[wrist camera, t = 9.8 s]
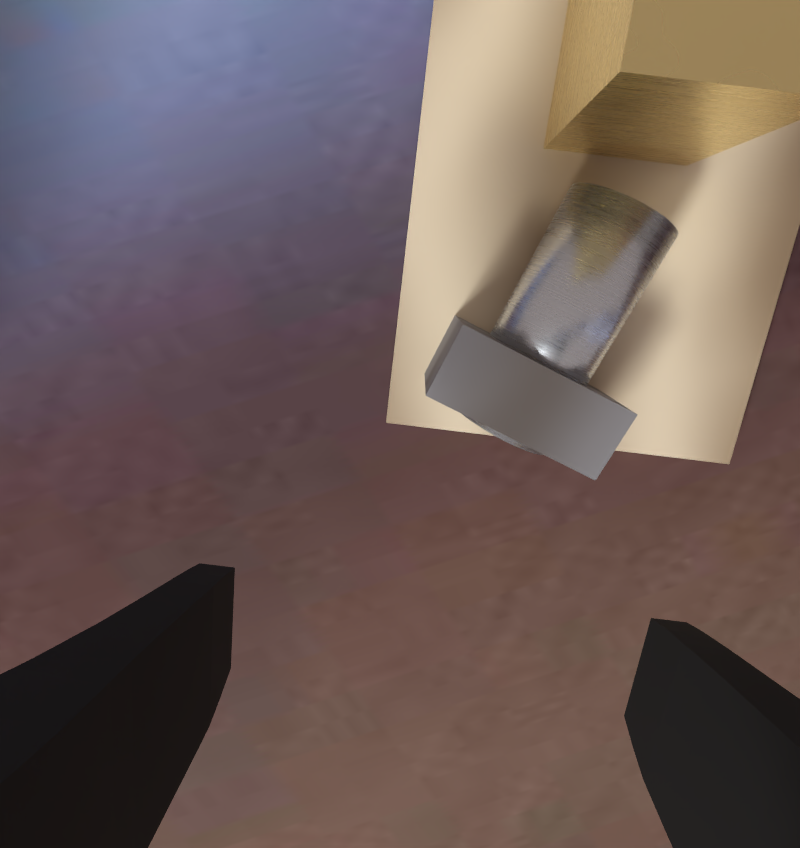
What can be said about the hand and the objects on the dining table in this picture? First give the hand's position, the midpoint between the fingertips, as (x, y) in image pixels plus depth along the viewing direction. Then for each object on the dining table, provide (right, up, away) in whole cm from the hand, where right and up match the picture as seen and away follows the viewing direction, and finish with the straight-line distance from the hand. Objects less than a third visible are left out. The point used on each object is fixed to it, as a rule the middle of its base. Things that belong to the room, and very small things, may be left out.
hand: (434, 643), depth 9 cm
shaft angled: (+4, +7, +7) cm, 11 cm away
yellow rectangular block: (+6, +13, +5) cm, 15 cm away
